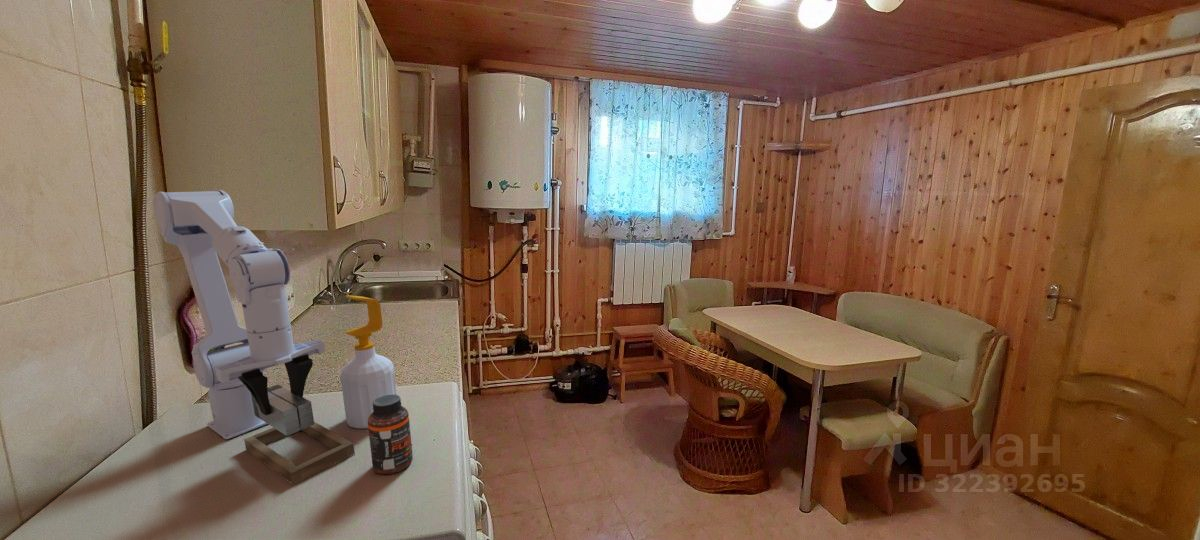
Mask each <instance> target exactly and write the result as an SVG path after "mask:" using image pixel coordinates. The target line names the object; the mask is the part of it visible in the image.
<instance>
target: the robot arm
mask: <svg viewBox="0 0 1200 540" xmlns="http://www.w3.org/2000/svg"><path fill="white" fill-rule="evenodd" d="M152 201H153V212H154V215H155V216H154V217H155V220H156V222H157V225H158V230H159V231H160V235H161V237H162V238H163V240H164V242H165V243H166V244H170V245H174V246H177V248H178V250H179V251H180V254H181V257H182V258H183V261H184V264H185V267H186V268H185V269H186V270H187V273H188V277H189V280H190V283H191V287H192V289H193V293H194V296H195V300H196V304H197V305H198V309H199V313H200V315H201V319H202V323H203V326H204V329H205V332H206V333H205V334H204V336H203V337H201V339H199V341H198V342H196V343H195V344H194V346H193V347H192V351H191V355H192V360H193V364H192V365H193V370H194V373H195V377H196V379H197V381H198V383H199V384H200V385H201V386H202V387H204V388H207V389H208V391H207V392H208V393H207V395H208V400H209V401H208V402H209V405H210V410H211V415H212V421H209V422H207V423H206V425H207V427H209V428H210V429H211V430H213V431H214V432H215V433H217V434H218V435H219V436H220V437H222V438H223V439H224V440H229V439H232V438H235V437H237V436H240V435H242V434H245V433H247V432H249V431H252V430H256V429H258V428H261V427H263V426H266V425H268V424H267V423H266V422H264V421H263V420H261V419H259V418H258V417H256V416H255V414H254V408H253V402H252V397H251V394H252V395H253V397H254V398H255V400H256V402H257V404H258V406H259V408H260V411H261V413H263V414H264V415H269V414H271V408H270V403H269V398H268V388H269V387H268V377H267V376H265V375H264V373H263V372H265V371H266V370H267V369H269V368H273V367H276V366H279V365H283V364H284V367H285V369H286V373H287V376H288V382H289V386H290V387H289V389H290V391H292V392H293V393H295V394H297V395H299V396H301V397H303V398H304V392H305V391H304V390H305V385H306V382H307V379H308V376H309V373H310V371H311V369H312V367H313V365H314V362H313V359H312V358H310V357H309V356H313V355H316V354H317V355H318V354H319V355H320V354H324V353H326V348H325V341H322V340H320V339H316V340H312V341H307V342H306V341H305V342H302V343H297V344H294V337H293V330H292V323H291V318H290V317H291V316H290V311H289V304H288V299H287V292H286V285H288V284H289V282H290V280H291V279H290V278H291V267H290V264H289V260H288V259H287V257H286V255H285V254H284V252H283V251H282V250H281V249H279V248H273V247H272V248H268V247H266V246H265V245H264V244H263V243H262V241H261V240H260V239H259V238H258V237H257V236H256V235H255V234H254V232H252V231H251V230H250V229H249V228H247V227H244V226H243V225H242V226H239V225H237V223H236V222H235V220H234V218H235V217H234V216H235V208H234V204H233V201H232V198H231V196H230V195H229V194H228V193H227V192H226V191H225V190H222V189H218V190H217V191H215V190H214V191H213V190H207V191H174V192H171V191H170V192H167V191H166V192H165V191H158V192H157V193H156V194H155V195H154V196H153V199H152ZM219 258H220V259H221V260H222V262H223V263H224V264H225V265H226V266H227V268H228V275H229V278H230V281H231V284H232V285H233V289H234V291H235V295H236V299H237V302H238V303H241V306H242V307H241V308H242V312H243V317H244V318H243V319H244V323H245V327H243V326H240V325H239V321H238V318H237V315H236V311H235V308H234V305H233V301H232V299H231V295H230V293H229V289H228V287H227V286H228V285H227V282H226V280H225V279H226V278H225V276H224V273H223V270H222V267H221V264H220V263H221V262H220V260H219ZM234 344H235V345H234ZM230 345H231V346H230ZM225 346H228V347H225ZM222 347H223V348H222ZM217 348H220V349H217ZM213 349H216V350H213ZM210 350H211V351H210Z"/></svg>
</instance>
